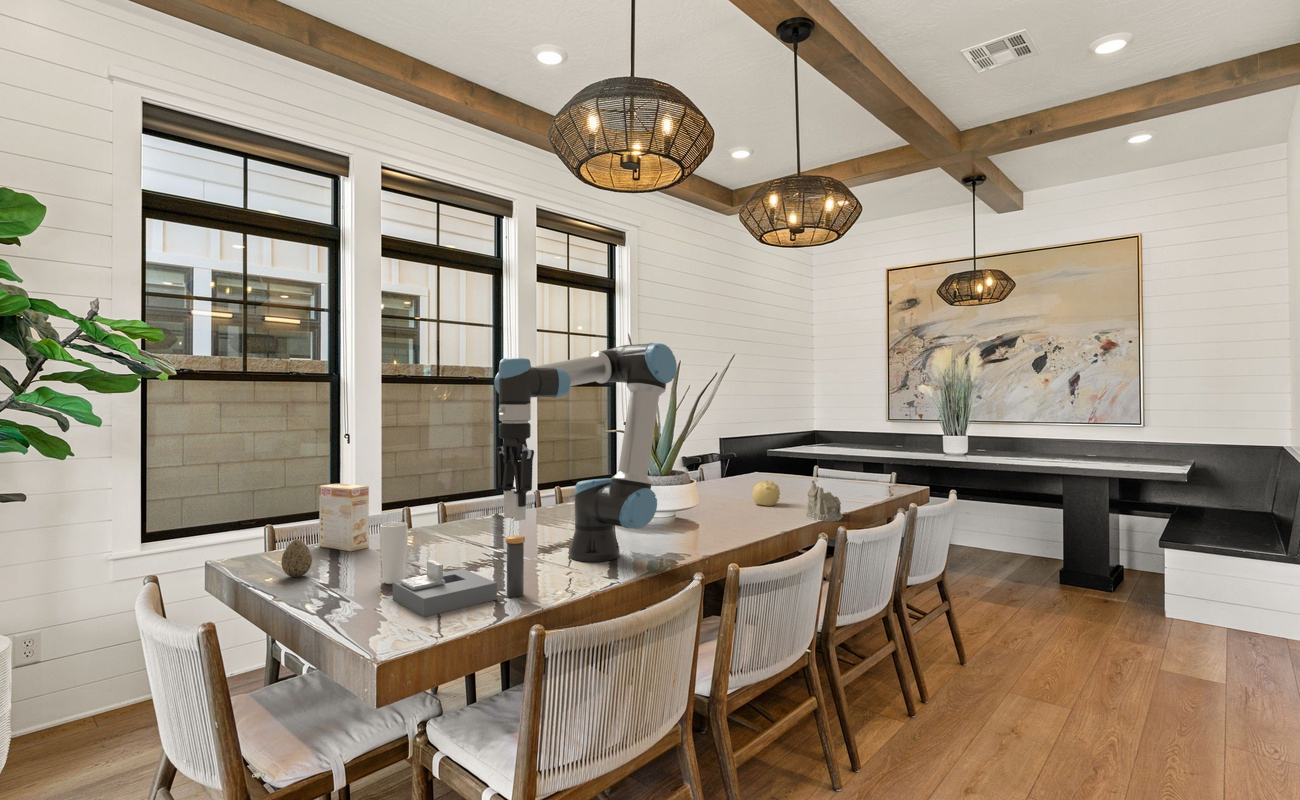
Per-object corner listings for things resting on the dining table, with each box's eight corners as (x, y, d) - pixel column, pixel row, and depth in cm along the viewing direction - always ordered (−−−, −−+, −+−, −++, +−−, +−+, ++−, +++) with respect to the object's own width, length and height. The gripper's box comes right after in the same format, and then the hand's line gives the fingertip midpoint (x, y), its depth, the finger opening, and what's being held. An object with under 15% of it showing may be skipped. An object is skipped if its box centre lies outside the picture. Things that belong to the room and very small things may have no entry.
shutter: (430, 577, 160) (430, 559, 160) (445, 583, 155) (445, 565, 155) (400, 583, 155) (400, 564, 155) (414, 590, 150) (413, 571, 150)
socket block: (462, 584, 169) (462, 568, 169) (496, 599, 157) (496, 582, 156) (392, 599, 157) (392, 582, 157) (423, 616, 144) (423, 598, 144)
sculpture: (777, 508, 282) (777, 482, 282) (749, 506, 287) (749, 481, 286) (782, 503, 293) (782, 479, 293) (755, 502, 297) (755, 478, 297)
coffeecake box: (369, 547, 209) (369, 485, 209) (350, 552, 203) (350, 488, 202) (338, 542, 216) (338, 482, 216) (318, 546, 210) (318, 485, 209)
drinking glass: (386, 578, 174) (386, 521, 174) (411, 578, 174) (411, 521, 174) (375, 585, 168) (375, 526, 167) (401, 585, 167) (401, 526, 167)
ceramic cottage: (818, 521, 251) (820, 482, 252) (799, 515, 267) (801, 478, 268) (855, 522, 255) (857, 483, 255) (834, 516, 271) (835, 480, 271)
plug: (518, 591, 163) (518, 534, 163) (528, 595, 160) (528, 537, 160) (501, 594, 160) (501, 537, 160) (511, 599, 157) (512, 540, 157)
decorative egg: (317, 575, 176) (317, 538, 176) (291, 582, 170) (291, 543, 170) (301, 571, 180) (301, 535, 180) (275, 578, 174) (275, 540, 174)
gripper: (483, 421, 163) (483, 515, 163) (520, 423, 151) (520, 526, 151) (509, 420, 168) (509, 512, 169) (547, 422, 156) (547, 521, 156)
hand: (514, 518), depth 160 cm, fingers open, 4 cm apart
